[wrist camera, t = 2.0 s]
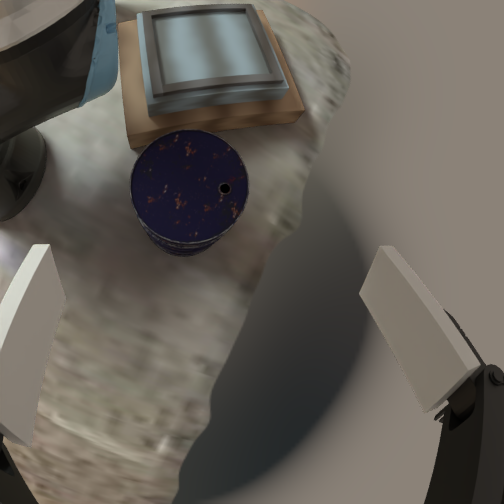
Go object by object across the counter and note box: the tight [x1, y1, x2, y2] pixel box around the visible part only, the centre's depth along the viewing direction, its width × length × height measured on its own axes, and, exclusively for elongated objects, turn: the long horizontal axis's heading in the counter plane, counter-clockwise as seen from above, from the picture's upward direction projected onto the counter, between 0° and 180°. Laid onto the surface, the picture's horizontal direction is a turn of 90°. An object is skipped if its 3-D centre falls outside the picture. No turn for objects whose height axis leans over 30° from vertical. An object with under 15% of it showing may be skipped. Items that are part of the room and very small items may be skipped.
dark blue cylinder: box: [130, 129, 249, 257], centre depth 30 cm, size 10×10×15 cm
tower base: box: [118, 4, 305, 149], centre depth 36 cm, size 24×22×8 cm
